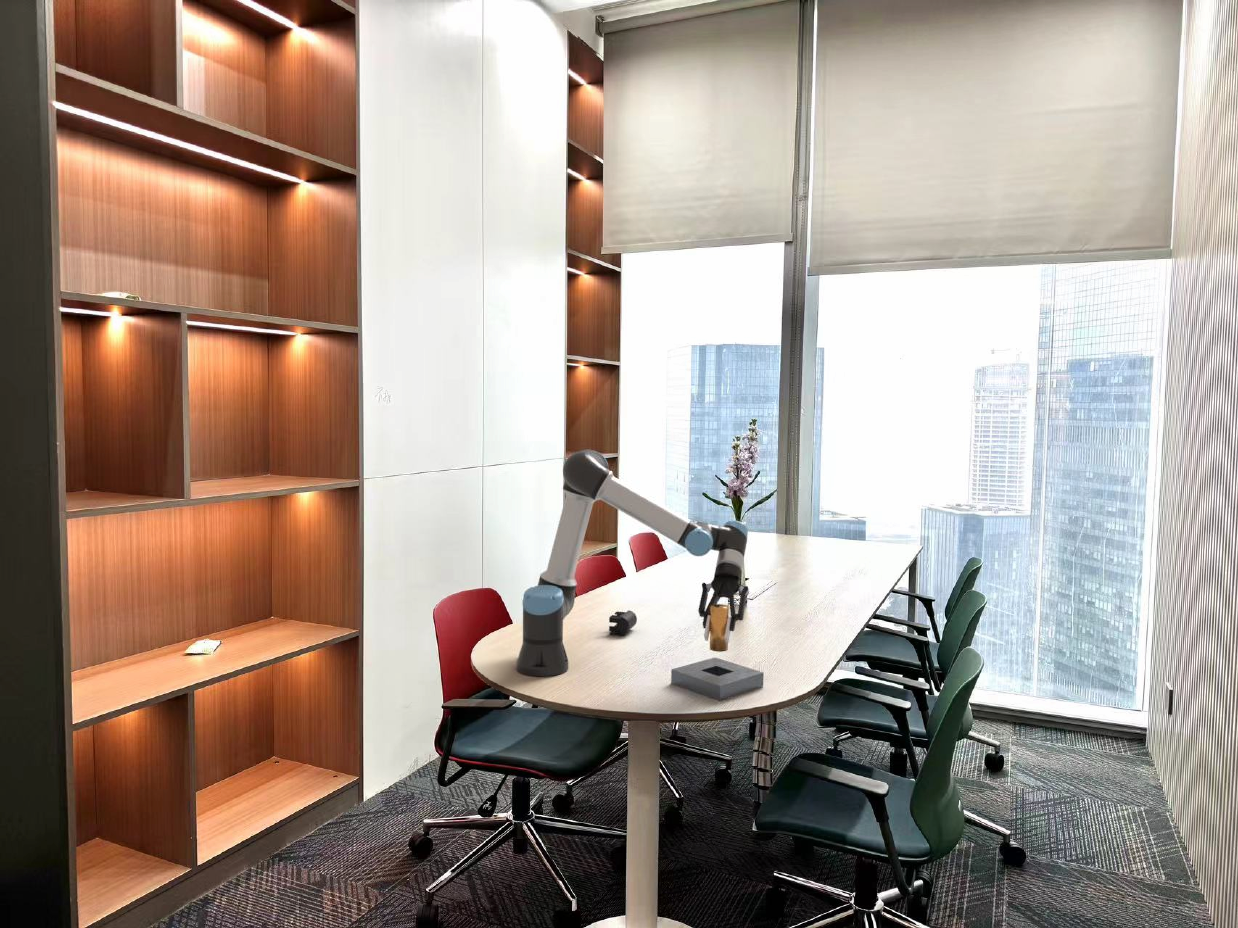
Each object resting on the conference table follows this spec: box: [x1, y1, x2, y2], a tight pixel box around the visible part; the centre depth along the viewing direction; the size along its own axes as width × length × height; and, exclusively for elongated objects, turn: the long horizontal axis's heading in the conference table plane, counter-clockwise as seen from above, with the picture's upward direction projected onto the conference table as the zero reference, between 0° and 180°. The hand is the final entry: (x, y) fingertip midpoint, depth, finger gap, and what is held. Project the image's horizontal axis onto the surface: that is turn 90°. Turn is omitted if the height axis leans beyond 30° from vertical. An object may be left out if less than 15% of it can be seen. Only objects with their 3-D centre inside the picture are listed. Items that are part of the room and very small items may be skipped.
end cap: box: [608, 609, 638, 637], centre depth 284 cm, size 10×7×7 cm
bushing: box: [709, 603, 730, 653], centre depth 230 cm, size 5×5×12 cm
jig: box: [670, 657, 764, 702], centre depth 231 cm, size 18×18×4 cm
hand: (716, 639), depth 227 cm, fingers closed on bushing, 5 cm apart
